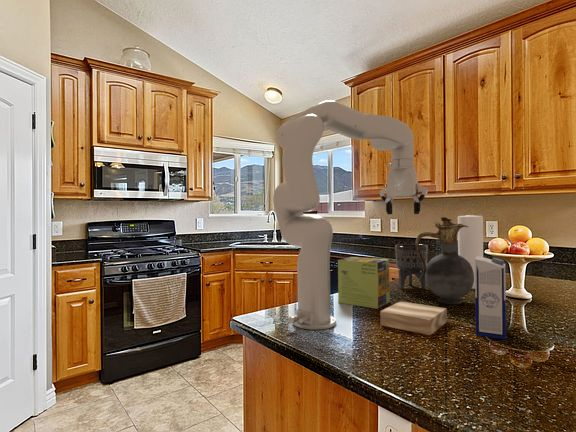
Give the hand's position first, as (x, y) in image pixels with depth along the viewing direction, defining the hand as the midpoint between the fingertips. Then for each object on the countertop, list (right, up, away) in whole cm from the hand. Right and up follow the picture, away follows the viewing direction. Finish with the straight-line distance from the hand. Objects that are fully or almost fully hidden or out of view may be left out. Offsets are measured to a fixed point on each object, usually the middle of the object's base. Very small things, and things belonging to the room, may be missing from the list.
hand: (402, 214), depth 129 cm
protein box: (-14, -32, +1) cm, 35 cm away
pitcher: (+15, -31, +1) cm, 35 cm away
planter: (+11, -31, +24) cm, 41 cm away
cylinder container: (+36, -31, +24) cm, 53 cm away
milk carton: (+13, -32, -33) cm, 47 cm away
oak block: (-4, -32, -24) cm, 40 cm away
